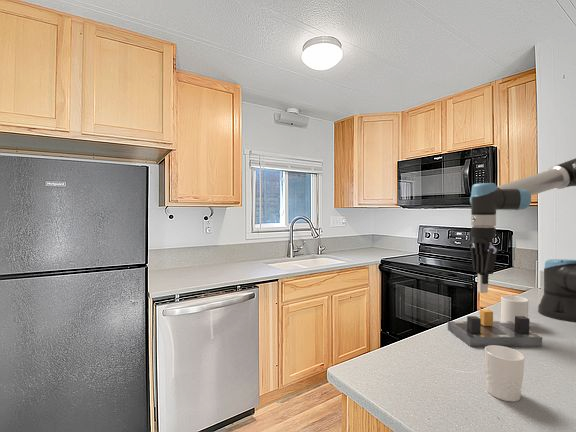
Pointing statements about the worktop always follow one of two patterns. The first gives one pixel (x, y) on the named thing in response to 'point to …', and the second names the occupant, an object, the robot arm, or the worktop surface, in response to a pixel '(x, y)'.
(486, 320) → the toggle
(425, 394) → the worktop surface
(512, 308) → the mug
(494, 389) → the white cup
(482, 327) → the panel
